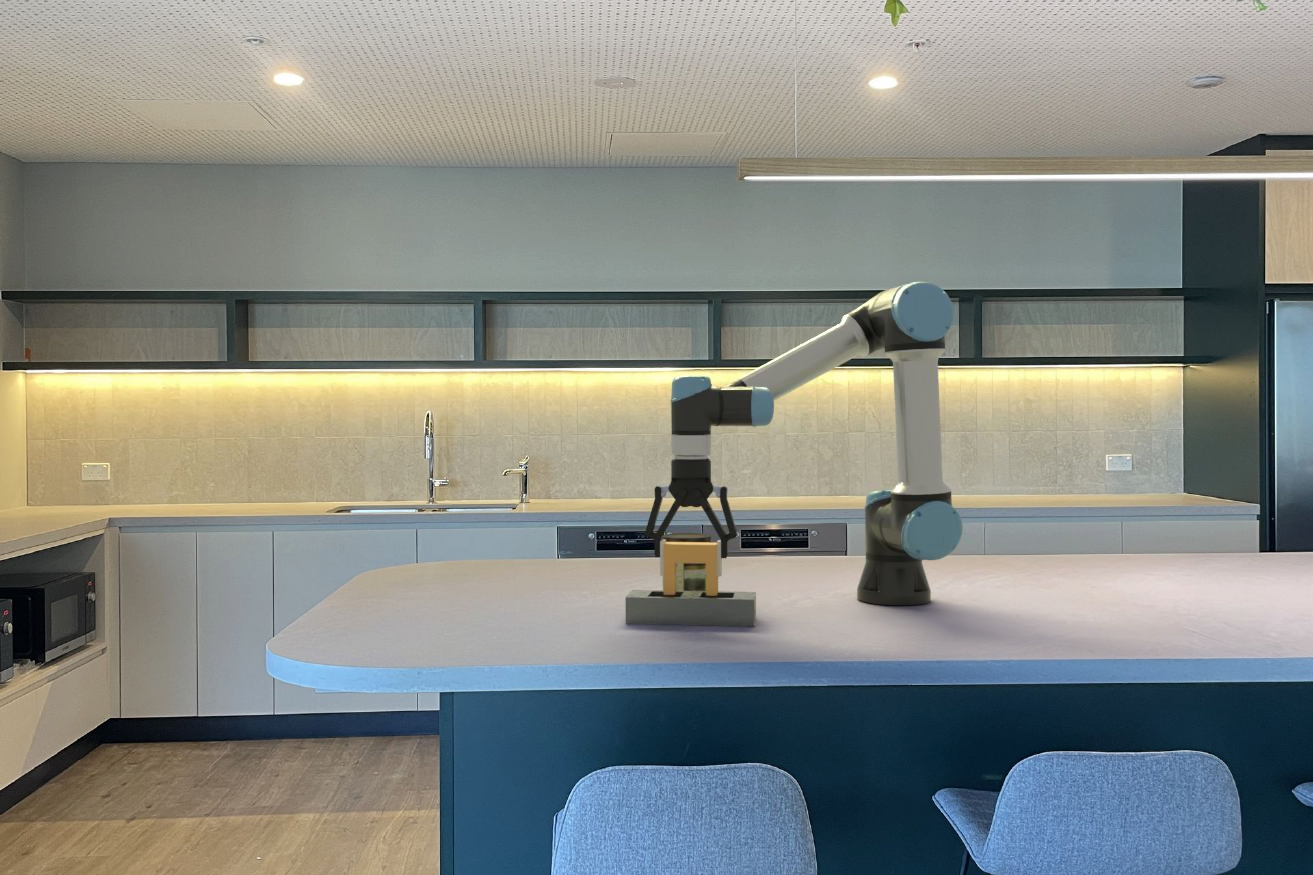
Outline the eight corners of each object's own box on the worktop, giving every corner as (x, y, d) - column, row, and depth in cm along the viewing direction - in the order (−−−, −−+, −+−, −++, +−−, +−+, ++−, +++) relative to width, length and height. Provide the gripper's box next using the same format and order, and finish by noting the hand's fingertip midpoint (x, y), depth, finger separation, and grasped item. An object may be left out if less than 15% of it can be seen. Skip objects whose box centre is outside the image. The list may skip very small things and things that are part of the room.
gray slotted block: (755, 617, 206) (755, 591, 206) (754, 626, 197) (754, 599, 197) (632, 615, 209) (632, 589, 209) (625, 623, 200) (625, 597, 200)
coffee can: (714, 599, 227) (714, 532, 227) (707, 607, 217) (706, 538, 216) (666, 597, 229) (666, 532, 229) (657, 606, 219) (656, 537, 218)
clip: (718, 592, 204) (718, 542, 204) (716, 595, 200) (716, 545, 200) (666, 591, 206) (666, 541, 205) (663, 594, 202) (663, 544, 201)
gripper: (751, 457, 205) (751, 573, 205) (634, 456, 208) (635, 571, 208) (750, 458, 197) (750, 579, 198) (628, 458, 200) (629, 576, 201)
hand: (691, 574), depth 203 cm, fingers closed on clip, 10 cm apart
